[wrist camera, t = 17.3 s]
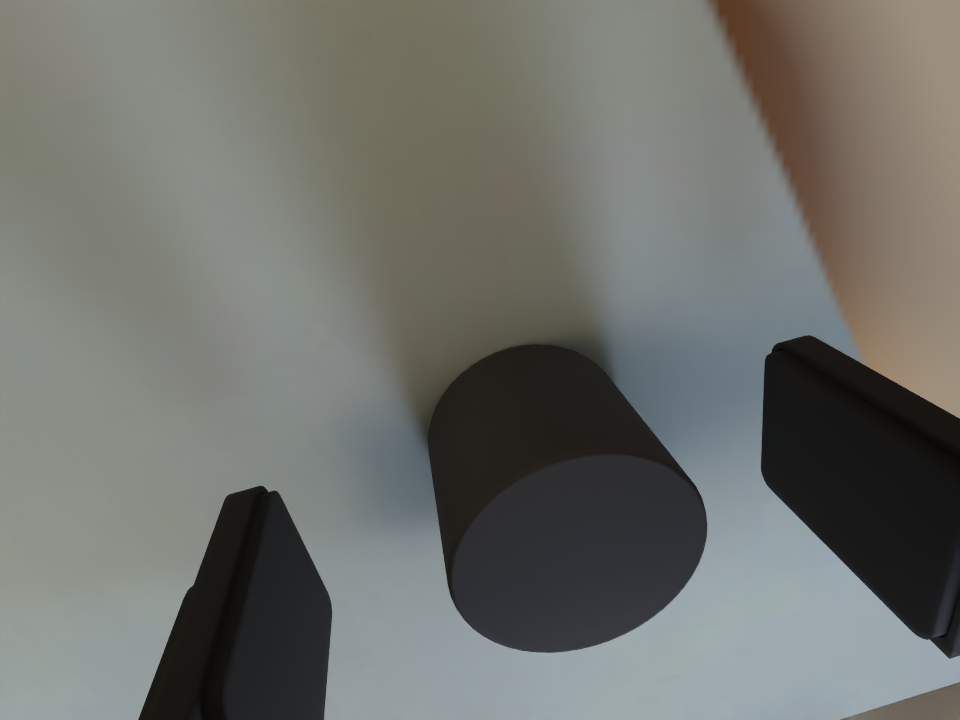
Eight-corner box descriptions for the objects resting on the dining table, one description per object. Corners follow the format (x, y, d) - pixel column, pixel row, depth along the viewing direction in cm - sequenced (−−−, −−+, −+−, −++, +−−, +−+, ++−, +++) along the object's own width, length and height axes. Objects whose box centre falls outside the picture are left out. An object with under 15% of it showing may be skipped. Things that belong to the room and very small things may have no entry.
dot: (610, 320, 11) (707, 416, 7) (627, 481, 12) (711, 612, 9) (404, 374, 10) (415, 498, 7) (452, 530, 12) (479, 682, 9)
